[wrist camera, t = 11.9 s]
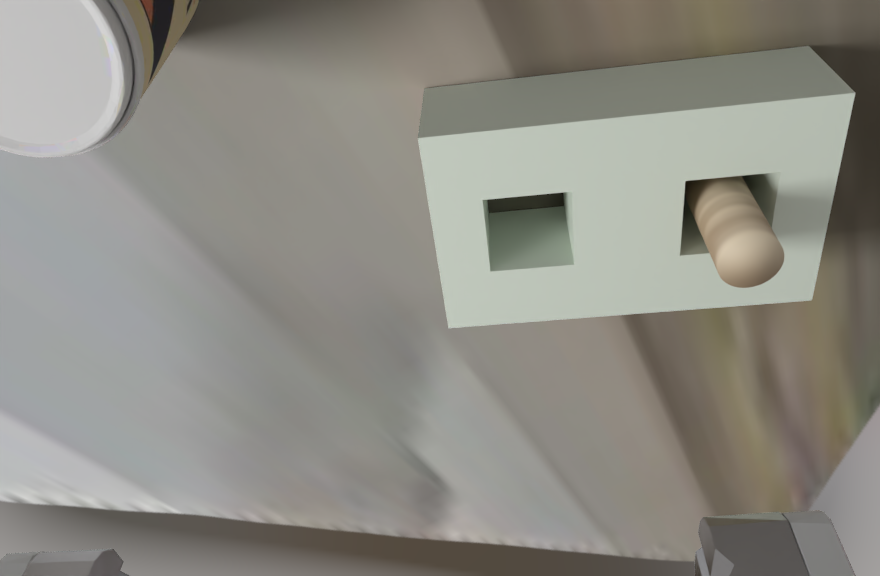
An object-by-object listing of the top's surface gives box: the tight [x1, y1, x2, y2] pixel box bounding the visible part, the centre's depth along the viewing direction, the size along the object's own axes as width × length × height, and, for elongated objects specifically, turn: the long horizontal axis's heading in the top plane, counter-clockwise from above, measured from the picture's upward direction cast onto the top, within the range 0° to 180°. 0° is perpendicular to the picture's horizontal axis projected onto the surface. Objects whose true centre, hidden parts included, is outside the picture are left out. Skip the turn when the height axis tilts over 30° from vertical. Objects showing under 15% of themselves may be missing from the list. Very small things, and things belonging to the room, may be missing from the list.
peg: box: [684, 176, 784, 288], centre depth 39 cm, size 3×3×10 cm
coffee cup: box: [0, 0, 199, 158], centre depth 33 cm, size 9×9×12 cm
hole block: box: [418, 46, 855, 328], centre depth 41 cm, size 12×20×6 cm, turn 97°
